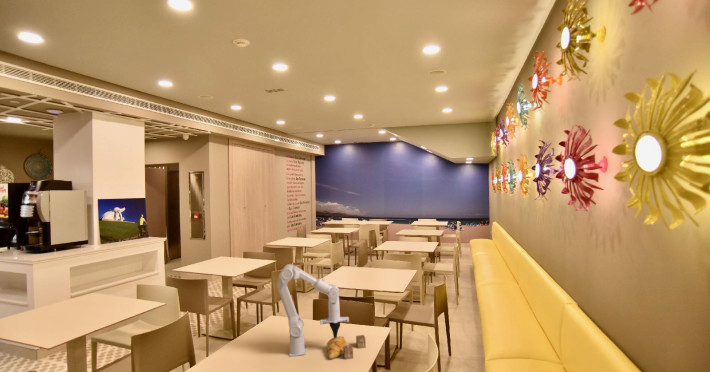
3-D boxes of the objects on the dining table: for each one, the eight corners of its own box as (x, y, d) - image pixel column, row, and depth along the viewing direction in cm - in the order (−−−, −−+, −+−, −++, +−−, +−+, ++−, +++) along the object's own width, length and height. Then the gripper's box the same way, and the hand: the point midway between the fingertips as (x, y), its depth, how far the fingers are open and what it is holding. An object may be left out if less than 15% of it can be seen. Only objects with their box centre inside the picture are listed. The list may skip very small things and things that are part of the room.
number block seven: (356, 345, 191) (356, 335, 191) (363, 344, 192) (363, 334, 192) (358, 348, 187) (357, 338, 187) (365, 347, 188) (365, 338, 188)
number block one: (343, 355, 180) (343, 345, 180) (351, 354, 181) (351, 344, 181) (345, 359, 176) (344, 349, 176) (353, 358, 177) (352, 348, 177)
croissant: (337, 368, 175) (344, 354, 174) (318, 357, 177) (325, 343, 176) (347, 347, 196) (353, 335, 195) (330, 338, 197) (336, 325, 197)
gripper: (320, 314, 181) (321, 341, 181) (349, 311, 184) (350, 338, 184) (319, 309, 188) (320, 336, 188) (347, 306, 191) (348, 333, 191)
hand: (335, 336), depth 186 cm, fingers closed
